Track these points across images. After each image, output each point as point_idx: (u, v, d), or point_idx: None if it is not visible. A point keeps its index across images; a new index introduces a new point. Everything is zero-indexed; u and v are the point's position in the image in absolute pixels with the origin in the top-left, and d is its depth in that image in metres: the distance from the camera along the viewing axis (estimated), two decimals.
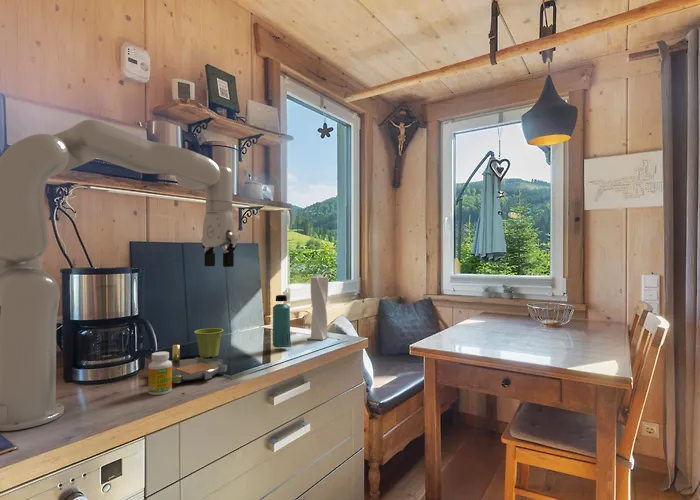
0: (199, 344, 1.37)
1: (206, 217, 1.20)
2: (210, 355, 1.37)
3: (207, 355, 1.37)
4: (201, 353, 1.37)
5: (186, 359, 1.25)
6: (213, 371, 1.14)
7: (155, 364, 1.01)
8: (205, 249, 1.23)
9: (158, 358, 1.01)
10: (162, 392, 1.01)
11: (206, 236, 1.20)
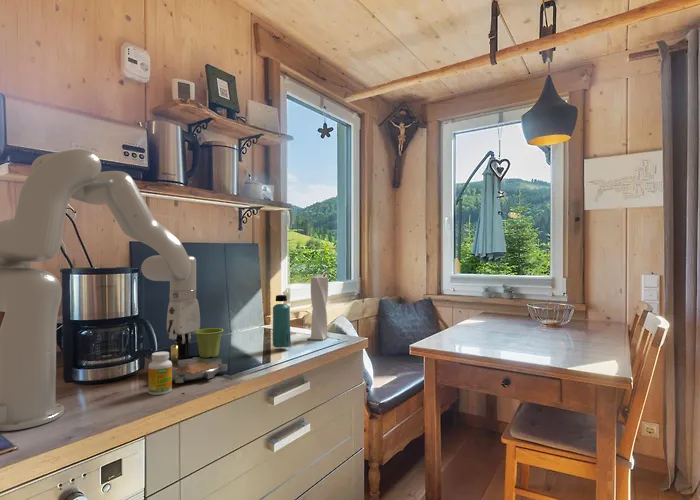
0: (199, 344, 1.37)
1: (184, 305, 1.22)
2: (210, 355, 1.37)
3: (207, 355, 1.37)
4: (201, 353, 1.37)
5: (184, 359, 1.25)
6: (214, 370, 1.14)
7: (155, 364, 1.01)
8: (183, 339, 1.23)
9: (158, 358, 1.01)
10: (162, 392, 1.01)
11: (185, 324, 1.22)
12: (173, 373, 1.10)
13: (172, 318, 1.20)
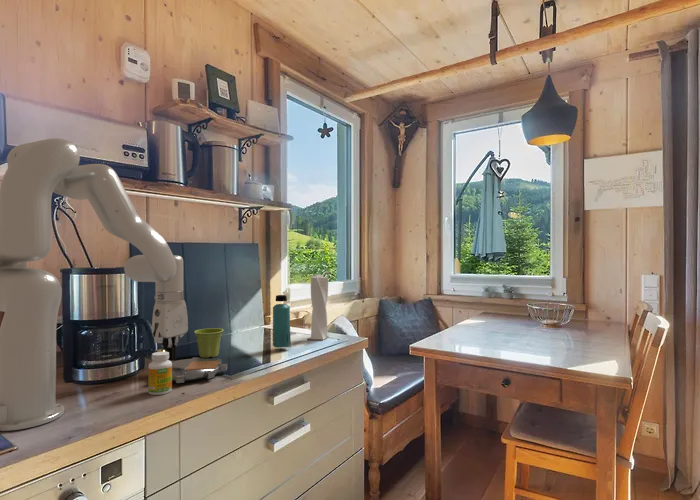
0: (199, 344, 1.37)
1: (170, 307, 1.16)
2: (210, 355, 1.37)
3: (207, 355, 1.37)
4: (201, 353, 1.37)
5: None
6: None
7: (155, 364, 1.01)
8: (170, 343, 1.18)
9: (158, 358, 1.01)
10: (162, 392, 1.01)
11: (172, 327, 1.16)
12: (195, 372, 1.11)
13: (157, 321, 1.14)
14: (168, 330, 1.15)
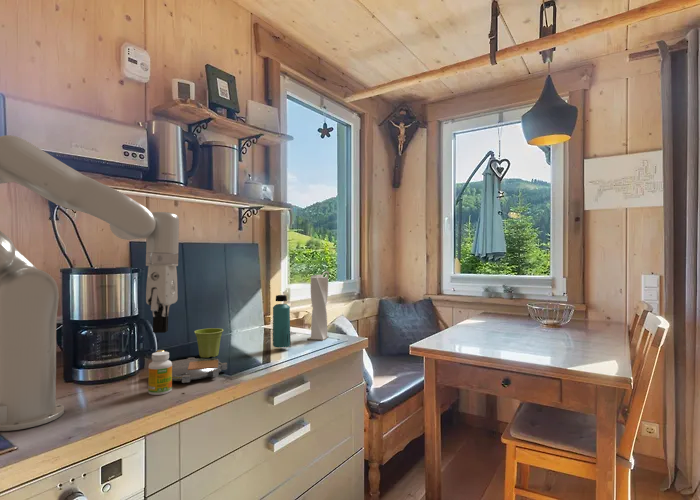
0: (199, 344, 1.37)
1: (169, 271, 1.02)
2: (210, 355, 1.37)
3: (207, 355, 1.37)
4: (201, 353, 1.37)
5: None
6: None
7: (155, 364, 1.01)
8: (164, 312, 1.03)
9: (158, 358, 1.01)
10: (162, 392, 1.01)
11: (169, 293, 1.03)
12: (199, 371, 1.12)
13: (156, 285, 0.99)
14: (167, 296, 1.01)
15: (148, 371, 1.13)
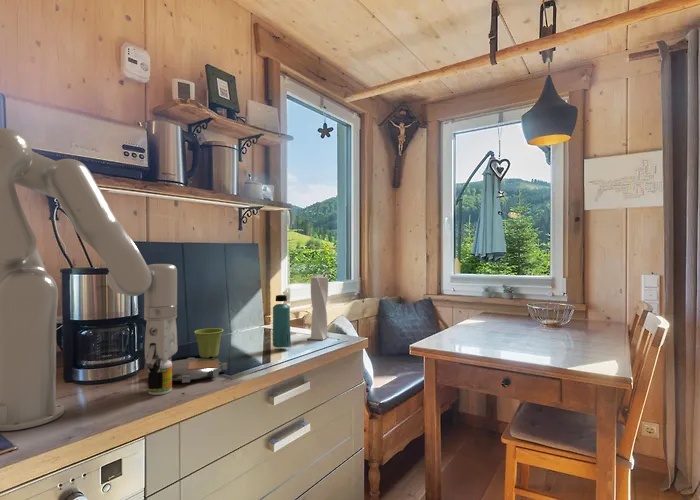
0: (199, 344, 1.37)
1: (167, 324, 1.01)
2: (210, 355, 1.37)
3: (207, 355, 1.37)
4: (201, 353, 1.37)
5: None
6: None
7: None
8: (160, 367, 0.99)
9: (158, 358, 1.01)
10: (162, 392, 1.01)
11: (168, 347, 1.01)
12: (199, 371, 1.12)
13: (154, 341, 0.98)
14: (166, 351, 1.00)
15: None
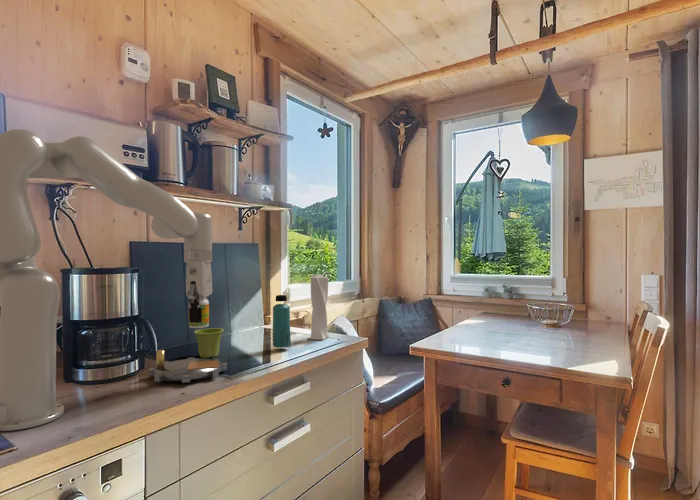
0: (199, 344, 1.37)
1: (205, 266, 1.13)
2: (210, 355, 1.37)
3: (207, 355, 1.37)
4: (201, 353, 1.37)
5: None
6: None
7: None
8: (200, 303, 1.12)
9: None
10: (201, 326, 1.13)
11: (206, 286, 1.14)
12: (199, 371, 1.12)
13: (194, 279, 1.11)
14: (205, 289, 1.12)
15: (148, 371, 1.13)
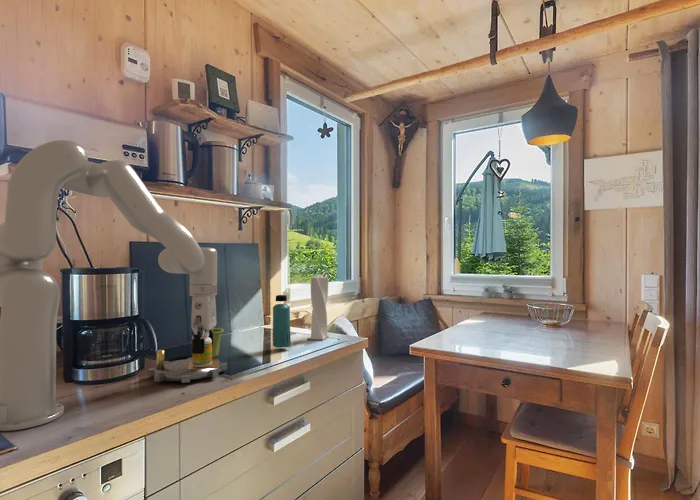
0: None
1: (210, 300, 1.15)
2: None
3: None
4: None
5: None
6: None
7: None
8: (203, 335, 1.13)
9: None
10: (205, 364, 1.15)
11: (211, 319, 1.16)
12: (199, 371, 1.12)
13: (199, 313, 1.13)
14: (209, 322, 1.14)
15: (148, 371, 1.13)
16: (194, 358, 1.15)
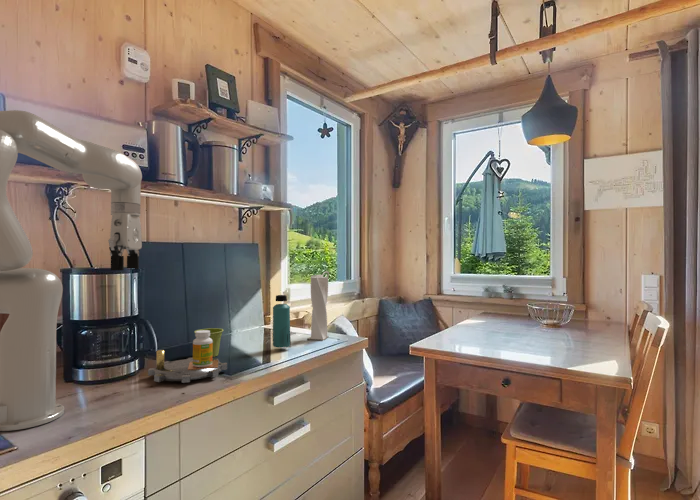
0: None
1: (131, 218, 1.15)
2: None
3: None
4: None
5: None
6: None
7: (199, 340, 1.15)
8: (122, 252, 1.12)
9: (201, 335, 1.15)
10: (205, 365, 1.15)
11: (132, 238, 1.16)
12: (199, 371, 1.12)
13: (118, 230, 1.12)
14: (129, 241, 1.14)
15: (148, 371, 1.13)
16: (194, 358, 1.15)
